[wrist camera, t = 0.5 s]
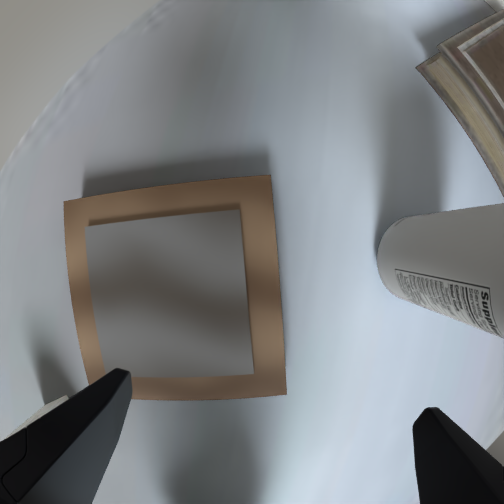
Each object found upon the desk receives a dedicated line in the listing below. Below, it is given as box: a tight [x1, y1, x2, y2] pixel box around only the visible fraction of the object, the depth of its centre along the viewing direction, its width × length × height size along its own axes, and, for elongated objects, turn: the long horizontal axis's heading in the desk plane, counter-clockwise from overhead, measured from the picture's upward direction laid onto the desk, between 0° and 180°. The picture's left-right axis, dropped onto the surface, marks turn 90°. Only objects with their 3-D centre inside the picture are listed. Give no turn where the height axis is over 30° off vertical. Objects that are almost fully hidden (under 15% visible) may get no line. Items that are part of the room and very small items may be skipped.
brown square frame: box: [64, 175, 287, 400], centre depth 20 cm, size 14×14×3 cm
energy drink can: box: [377, 203, 504, 338], centre depth 14 cm, size 6×6×15 cm
